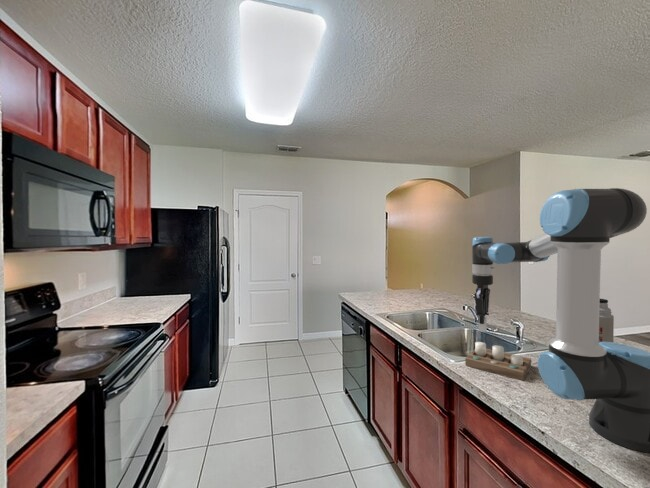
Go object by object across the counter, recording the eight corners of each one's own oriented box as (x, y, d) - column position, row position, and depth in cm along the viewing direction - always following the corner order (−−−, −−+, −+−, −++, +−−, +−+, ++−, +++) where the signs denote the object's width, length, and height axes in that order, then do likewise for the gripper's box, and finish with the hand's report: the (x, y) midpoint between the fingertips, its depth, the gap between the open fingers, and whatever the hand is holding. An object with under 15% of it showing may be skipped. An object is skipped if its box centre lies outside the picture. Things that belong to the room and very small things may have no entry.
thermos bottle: (605, 379, 110) (605, 302, 109) (579, 370, 117) (580, 298, 116) (618, 375, 112) (618, 300, 111) (592, 366, 120) (593, 296, 119)
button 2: (502, 362, 120) (502, 349, 120) (491, 359, 123) (491, 347, 123) (504, 359, 123) (504, 346, 123) (493, 356, 126) (493, 344, 126)
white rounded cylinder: (484, 358, 125) (484, 346, 125) (474, 355, 127) (473, 343, 127) (487, 355, 128) (487, 343, 127) (477, 352, 130) (476, 341, 130)
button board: (523, 380, 111) (523, 371, 110) (465, 365, 124) (465, 357, 124) (531, 365, 122) (531, 357, 122) (477, 353, 136) (477, 346, 136)
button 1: (521, 373, 116) (521, 360, 116) (509, 369, 119) (509, 357, 119) (523, 369, 119) (523, 356, 119) (512, 366, 122) (512, 354, 122)
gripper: (487, 277, 119) (487, 337, 120) (497, 273, 128) (496, 328, 129) (467, 275, 124) (467, 333, 125) (477, 271, 133) (477, 325, 134)
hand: (482, 330), depth 127 cm, fingers closed
